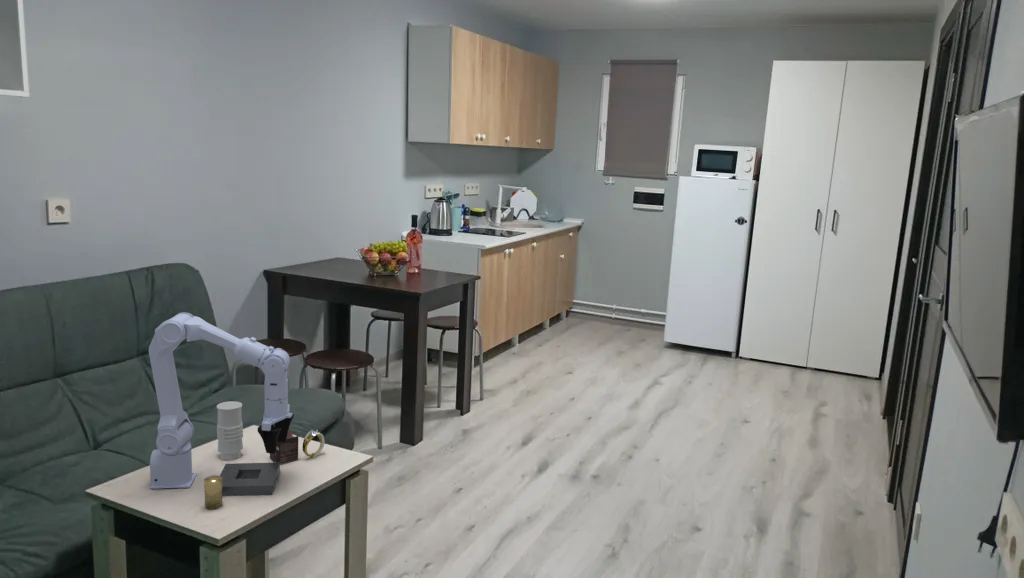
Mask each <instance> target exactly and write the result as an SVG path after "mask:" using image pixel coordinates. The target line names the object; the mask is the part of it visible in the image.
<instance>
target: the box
mask: <svg viewBox="0 0 1024 578" xmlns="http://www.w3.org/2000/svg"><path fill="white" fill-rule="evenodd" d="M299 437H300V436H299V435H298V434H296V433H295V432H294V431H292V430H290V429H289V430H288V435H287V439H286V441H285V442H277V447H276V452H275V453H274V454H272V453H269V458H270V460H272V461H273V463H274V462H280V465H283V464H287V463H291V462H296V461H298V460H299Z"/></svg>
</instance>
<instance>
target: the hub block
mask: <svg viewBox="0 0 1024 578" xmlns="http://www.w3.org/2000/svg"><path fill="white" fill-rule="evenodd" d="M280 472H281V464H280V462H274V461H273V462H246V463H245V462H244V463H243V462H241V463H237V462H236V463H235V462H234V463H225V464H224V467H223V468H222V470H221V472H220V474H219V476H221V477H222V497H230V496H231V497H237V496H238V497H239V496H241V497H242V496H269V495H270V496H271V495H273V494H274V491H275V488H276V485H277V483H278V479H279V475H280V474H281V473H280Z"/></svg>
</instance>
